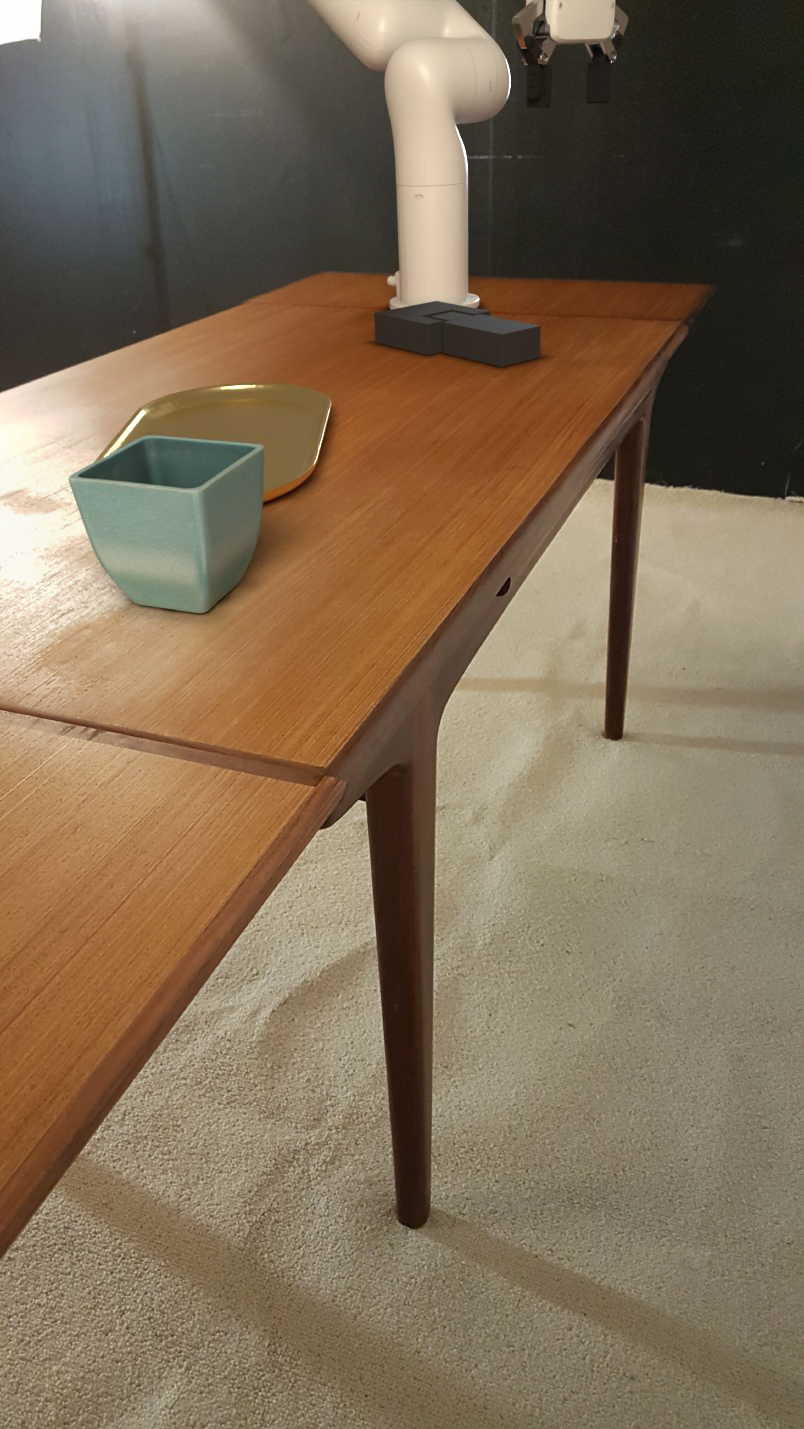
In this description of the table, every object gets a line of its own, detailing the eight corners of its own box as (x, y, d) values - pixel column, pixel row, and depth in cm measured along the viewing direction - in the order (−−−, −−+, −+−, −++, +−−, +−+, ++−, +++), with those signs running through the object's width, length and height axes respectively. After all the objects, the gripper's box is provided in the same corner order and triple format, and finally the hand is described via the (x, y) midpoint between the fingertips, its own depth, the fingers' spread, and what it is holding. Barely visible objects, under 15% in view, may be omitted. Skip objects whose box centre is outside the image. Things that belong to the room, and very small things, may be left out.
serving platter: (60, 526, 77) (55, 506, 76) (159, 401, 107) (157, 385, 106) (308, 519, 76) (306, 499, 76) (338, 395, 106) (337, 379, 105)
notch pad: (375, 342, 126) (373, 312, 125) (436, 329, 132) (436, 300, 130) (427, 355, 120) (426, 324, 118) (490, 341, 125) (490, 310, 123)
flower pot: (281, 574, 68) (267, 441, 63) (219, 634, 61) (198, 490, 56) (166, 561, 71) (143, 432, 66) (94, 617, 64) (63, 477, 59)
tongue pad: (422, 348, 123) (422, 317, 121) (460, 340, 126) (459, 310, 124) (501, 367, 114) (502, 334, 112) (539, 357, 117) (541, 325, 115)
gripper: (604, -76, 115) (595, 102, 124) (492, -83, 106) (490, 109, 115) (658, -85, 110) (643, 101, 119) (544, -93, 101) (538, 109, 110)
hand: (568, 105), depth 117 cm, fingers open, 9 cm apart
